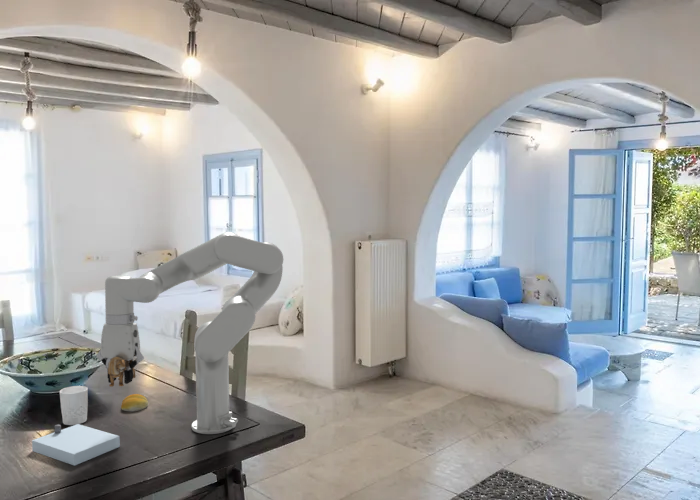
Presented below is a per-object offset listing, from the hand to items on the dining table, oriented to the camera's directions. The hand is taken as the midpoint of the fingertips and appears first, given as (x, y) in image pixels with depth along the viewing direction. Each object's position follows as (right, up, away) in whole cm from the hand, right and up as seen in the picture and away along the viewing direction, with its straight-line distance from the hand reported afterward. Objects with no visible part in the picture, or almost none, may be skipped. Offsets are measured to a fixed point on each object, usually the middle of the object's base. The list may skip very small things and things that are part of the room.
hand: (120, 381), depth 178 cm
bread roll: (-5, -14, +25) cm, 29 cm away
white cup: (-18, -15, +12) cm, 26 cm away
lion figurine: (0, -1, +1) cm, 2 cm away
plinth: (-9, -17, -9) cm, 21 cm away
